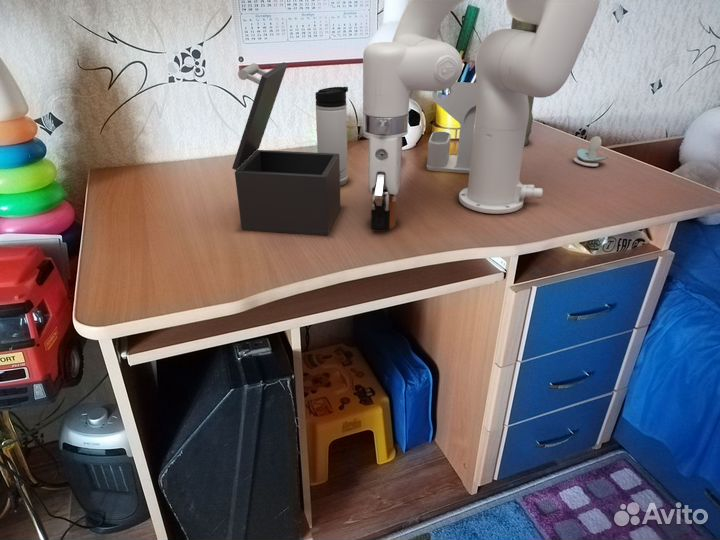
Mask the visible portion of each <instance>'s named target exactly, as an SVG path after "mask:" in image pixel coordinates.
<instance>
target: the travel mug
mask: <svg viewBox="0 0 720 540" xmlns="http://www.w3.org/2000/svg"><path fill="white" fill-rule="evenodd" d="M348 92H349V87H348V86H331V87H330V86H329V87H325V88H321V89H319V90H318V91H316V92H315V121H316V123H315V124H316V144H317V145H316V146H317V148H316V149H317V153H334V154H339V160H340V187H342V186H345V185H346V184H347V183H348V181H349V176H348V174H349V173H348V168H349V167H348V111H347V110H348V108H347V107H348V106H347V104H348V103H347V93H348Z"/></svg>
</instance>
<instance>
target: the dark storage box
mask: <svg viewBox="0 0 720 540" xmlns="http://www.w3.org/2000/svg"><path fill="white" fill-rule="evenodd" d="M234 177H235V186H236V187H235V188H236V195H237V203H238V211H239V219H240V226H241V231H252V232H267V233H281V234H295V235H296V234H299V235H311V236H312V235H313V236H325V237H328V236H329V234H330V232H331V229H332V227H333V226H334V223H335V221H336V218H337V216H338V214H339V212H340V210H341V186H340V160H339V154H334V153H318V152H311V151H289V150H271V149H269V150H268V149H258V150H257V151H255V152H254V153H253V154H252V155H251V156H250V157H249V158H248V159H247V160H246V161H245V162H244V163H243V164H242V165H241V166H240V167H239V168H238V169H237V170H234Z"/></svg>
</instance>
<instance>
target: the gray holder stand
mask: <svg viewBox="0 0 720 540" xmlns="http://www.w3.org/2000/svg"><path fill="white" fill-rule="evenodd" d="M448 91H449V93H448V95H447V97H444V98H441V97H439V95H438V91H432V95H431V96H432V101H434V103H435V104H436V105H437V106H438V107H440V108H441V109H442V110H443V111H444V112H445V113H447V114H448V115H449V116H451V117H452V118H453V119H454V121H456V122H458V123H459V125H460V127H459V135H458V143H457V144H458V146H457V152H456V153H457V155H453V154H450V152H451V151H450V149H451V139H452V135H451V133H450V132H447V131H434V132H432V133H431V135H430V137H429V139H428V144H427V159H426V166H425V167H426V170H428V171H432V172H433V171H435V172H445V173H459V174H469V172H470V162H471V153H472V143H473V134H474V124H475V116H476V104H477V82H461V81H456V83H455V84H453V85H452V86H451V87H449V88H448Z"/></svg>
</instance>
